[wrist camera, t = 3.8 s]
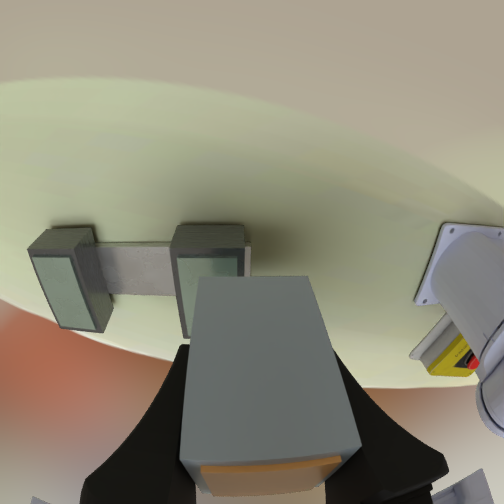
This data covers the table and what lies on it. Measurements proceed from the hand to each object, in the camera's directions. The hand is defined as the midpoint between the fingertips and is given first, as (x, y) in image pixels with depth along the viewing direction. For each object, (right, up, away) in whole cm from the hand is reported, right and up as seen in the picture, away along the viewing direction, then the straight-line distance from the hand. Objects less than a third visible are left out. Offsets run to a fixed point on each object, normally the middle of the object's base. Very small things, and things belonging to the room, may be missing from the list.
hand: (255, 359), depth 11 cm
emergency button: (+25, -6, +17) cm, 31 cm away
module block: (0, +1, +2) cm, 2 cm away
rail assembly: (-8, +3, +8) cm, 12 cm away
